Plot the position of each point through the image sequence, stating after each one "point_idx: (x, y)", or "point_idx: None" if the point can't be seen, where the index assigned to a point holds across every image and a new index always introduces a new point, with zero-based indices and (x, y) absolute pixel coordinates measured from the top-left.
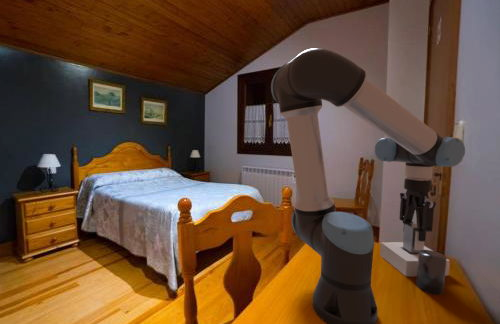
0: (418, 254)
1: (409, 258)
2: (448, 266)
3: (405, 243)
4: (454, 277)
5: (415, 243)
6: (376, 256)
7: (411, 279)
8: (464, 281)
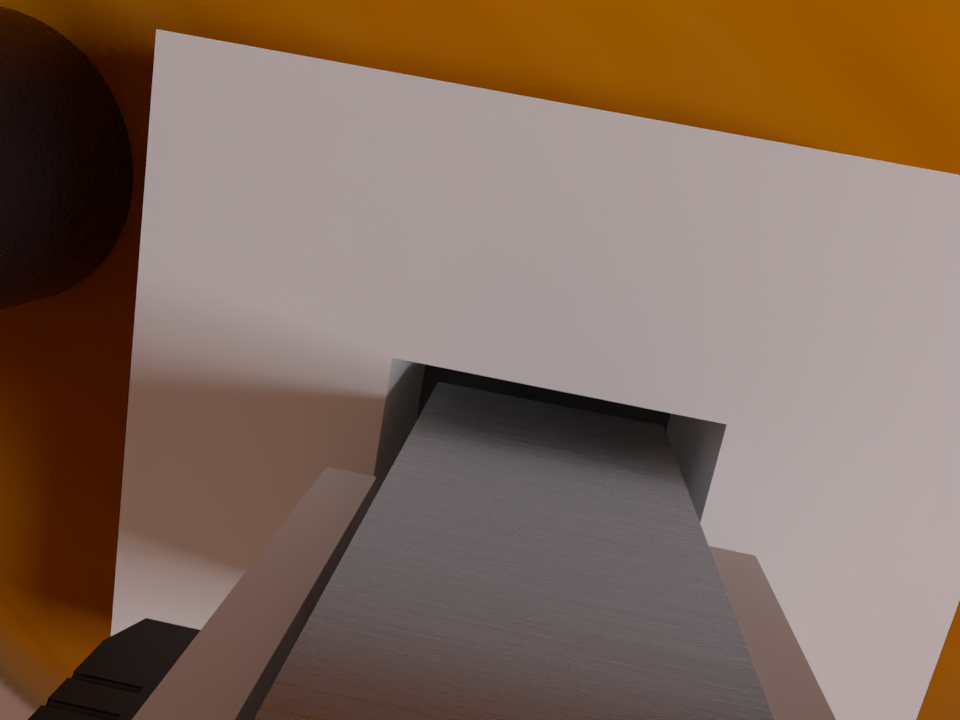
0: None
1: (245, 184)
2: None
3: (608, 488)
4: None
5: (305, 537)
6: (937, 90)
7: None
8: None
